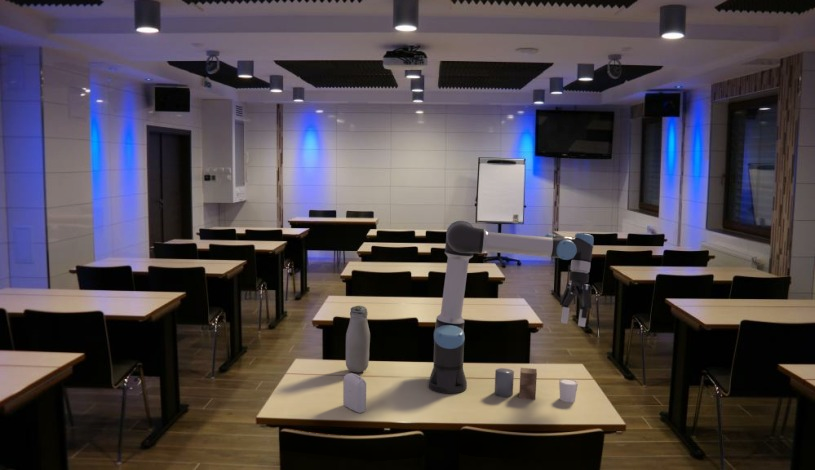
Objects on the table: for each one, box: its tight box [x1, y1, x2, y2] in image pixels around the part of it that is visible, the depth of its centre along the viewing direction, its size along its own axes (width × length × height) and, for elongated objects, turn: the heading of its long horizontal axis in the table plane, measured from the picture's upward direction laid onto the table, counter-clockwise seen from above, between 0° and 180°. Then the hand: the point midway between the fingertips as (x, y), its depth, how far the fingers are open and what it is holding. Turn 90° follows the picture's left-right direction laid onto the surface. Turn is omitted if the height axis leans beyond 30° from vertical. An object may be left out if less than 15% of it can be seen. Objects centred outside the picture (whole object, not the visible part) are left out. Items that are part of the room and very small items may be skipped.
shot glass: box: [558, 378, 579, 403], centre depth 243 cm, size 7×7×7 cm
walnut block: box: [518, 367, 538, 400], centre depth 245 cm, size 6×6×10 cm
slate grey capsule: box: [494, 367, 515, 398], centre depth 247 cm, size 7×7×9 cm
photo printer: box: [342, 372, 367, 414], centre depth 228 cm, size 10×4×12 cm, turn 39°
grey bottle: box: [345, 305, 371, 373], centre depth 267 cm, size 10×10×28 cm
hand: (572, 324), depth 255 cm, fingers open, 13 cm apart
